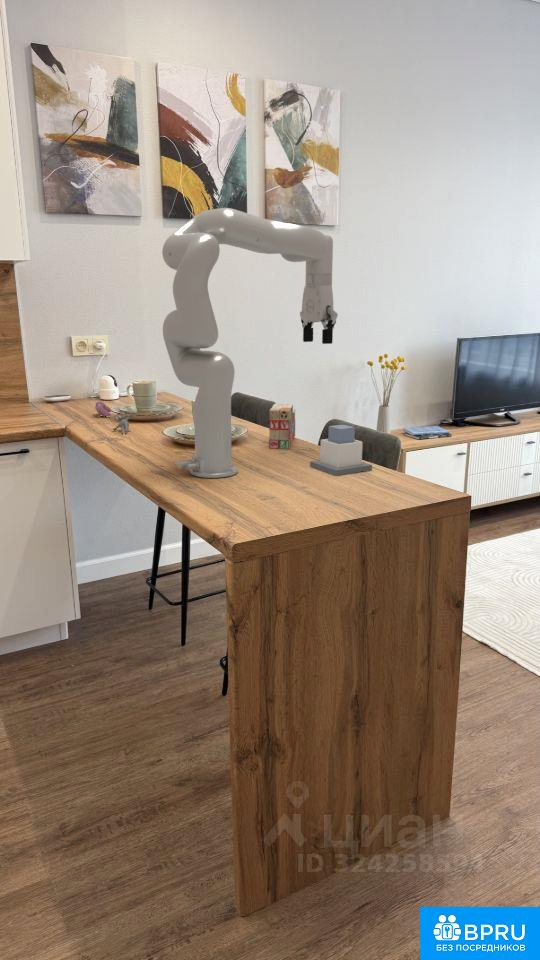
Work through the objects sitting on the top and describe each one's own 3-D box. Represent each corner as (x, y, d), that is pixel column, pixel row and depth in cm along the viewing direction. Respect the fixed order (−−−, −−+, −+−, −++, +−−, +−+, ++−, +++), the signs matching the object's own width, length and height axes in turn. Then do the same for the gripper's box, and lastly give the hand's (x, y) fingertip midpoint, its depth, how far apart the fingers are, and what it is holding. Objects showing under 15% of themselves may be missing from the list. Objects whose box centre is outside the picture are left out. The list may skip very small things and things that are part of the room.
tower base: (335, 475, 182) (336, 447, 180) (309, 466, 192) (310, 439, 190) (371, 470, 188) (373, 442, 186) (345, 461, 198) (345, 434, 196)
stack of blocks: (276, 435, 235) (277, 399, 232) (295, 436, 234) (295, 399, 231) (269, 449, 215) (269, 409, 211) (289, 449, 214) (289, 409, 211)
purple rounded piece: (103, 418, 276) (94, 402, 274) (113, 412, 276) (104, 397, 274) (101, 422, 267) (91, 406, 265) (111, 416, 267) (102, 400, 265)
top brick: (339, 447, 185) (339, 429, 184) (328, 444, 189) (328, 426, 188) (354, 445, 188) (354, 427, 186) (343, 442, 192) (343, 424, 190)
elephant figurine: (108, 436, 234) (105, 422, 241) (120, 446, 238) (117, 432, 245) (130, 417, 233) (127, 404, 240) (142, 428, 236) (139, 415, 243)
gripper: (291, 281, 203) (290, 341, 208) (325, 280, 189) (324, 344, 193) (312, 281, 207) (311, 340, 211) (347, 280, 193) (345, 344, 197)
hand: (317, 342), depth 202 cm, fingers open, 9 cm apart
